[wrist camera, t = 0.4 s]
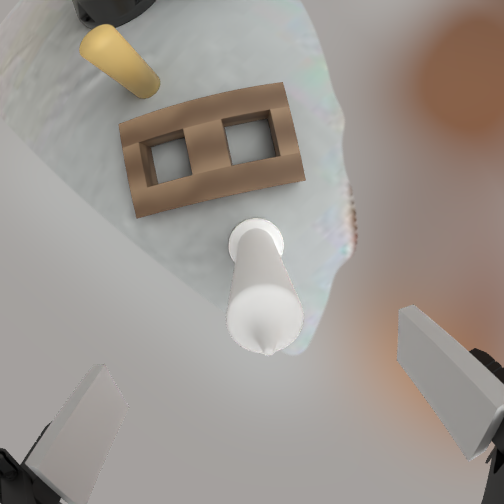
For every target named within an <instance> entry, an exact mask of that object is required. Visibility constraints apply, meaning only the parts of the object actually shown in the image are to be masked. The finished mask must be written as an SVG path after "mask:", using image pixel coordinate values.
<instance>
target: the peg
mask: <svg viewBox="0 0 504 504" xmlns="http://www.w3.org/2000/svg"><path fill="white" fill-rule="evenodd" d="M79 51H80V55H81V56H82V57H83V58H85V59H86V60H88V61H89V62H90V63H92V64H93V65H95V66H96V67H98V68H99V69H100V70H102V71H103V72H105V73H106V74H107V75H109V76H110V77H111V78H113V79H114V80H116V81H117V82H118V83H120V84H121V85H122V86H124V87H125V88H126V89H128V90H129V91H130V92H132V93H133V94H134V95H136V96H137V97H139V98H142V99H145V98H149V97H151V96H153V95H154V94H155V93H156V92H157V91H158V89H159V87H160V79H159V77H158V76H157V75H156V74H155V72H154V71H153V70H152V69H151V68H150V67H149V66H148V64H147V63H146V62H145V61H144V60H143V59H142V58H141V57H140V55H139V54H138V53H137V52H136V51H135V50H134V49H133V48H132V47H131V45H130V44H129V43H128V42H127V41H126V40H125V39H124V38H123V37H122V35H121V34H120V33H119V32H118V31H117V30H116V29H115V28H114V27H113V26H112V25H109V24H103V25H100V26H97V27H95V28H94V29H92V30H91V31H90V32H89V33H88V34H87V35H86V36H85V37H84V38H83V40H82V42H81V44H80V49H79Z"/></svg>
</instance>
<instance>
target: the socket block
mask: <svg viewBox="0 0 504 504" xmlns="http://www.w3.org/2000/svg"><path fill="white" fill-rule="evenodd" d="M263 119H268V122H269V127H270V131H271V135H272V140H273V144H274V149H275V153H276V157H273V158H267V159H262V160H257V161H252V162H247V163H242V164H238V165H232V160H231V156H230V151H229V146H228V142H227V137H226V132H225V128H224V127H227V126H232V125H237V124H242V123H247V122H252V121H257V120H263ZM119 130H120V137H121V143H122V149H123V155H124V161H125V166H126V171H127V177H128V182H129V186H130V191H131V196H132V200H133V205H134V209H135V214H136V218H141V217H144V216H148V215H152V214H155V213H159V212H163V211H167V210H171V209H175V208H179V207H183V206H187V205H191V204H195V203H199V202H203V201H208V200H212V199H216V198H221V197H225V196H230V195H234V194H239V193H243V192H248V191H253V190H258V189H263V188H268V187H273V186H278V185H283V184H289V183H294V182H300V181H305V180H306V179H305V174H304V170H303V165H302V160H301V155H300V151H299V146H298V142H297V137H296V133H295V129H294V124H293V120H292V116H291V112H290V108H289V104H288V100H287V96H286V92H285V88H284V85H283V82H280V83H273V84H266V85H260V86H254V87H249V88H243V89H238V90H233V91H228V92H224V93H219V94H215V95H211V96H206V97H202V98H198V99H195V100H191V101H187V102H184V103H180V104H177V105H173V106H170V107H167V108H163V109H160V110H157V111H154V112H151V113H148V114H145V115H142V116H139V117H136V118H134V119H131V120H128V121H126V122H123V123H120V124H119ZM183 137H185V140H186V145H187V150H188V155H189V160H190V165H191V170H192V174H193V175H191V176H187V177H183V178H179V179H176V180H172V181H168V182H165V183H161V184H158V181H157V176H156V171H155V166H154V161H153V156H152V151H151V147H153V146H156V145H159V144H162V143H166V142H169V141H172V140H176V139H179V138H183Z"/></svg>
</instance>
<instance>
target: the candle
mask: <svg viewBox="0 0 504 504" xmlns="http://www.w3.org/2000/svg"><path fill="white" fill-rule="evenodd" d="M228 248H229V253H230V256H231V258H232V260H233V261H234V263H235V267H234V272H233V278H232V284H231V289H230V295H229V301H228V307H227V312H226V325H227V328H228V331H229V333H230V335H231V337H232V338H233V340H234V341H235V342H236V343H237V344H239V345H240V346H241V347H243V348H244V349H247V350H249V351H252V352H256V353H264V354H265V355H266V356H271V355H273V354H274V352H276V351H279V350H282V349H284V348H285V347H287V346H289V345H290V344H291V343H292V342H293V341H294V340H295V339H296V338H297V337H298V335H299V334H300V332H301V330H302V327H303V322H304V311H303V307H302V304H301V302H300V300H299V298H298V295H297V293H296V291H295V288H294V286H293V284H292V282H291V279H290V277H289V275H288V272H287V270H286V268H285V266H284V263H283V261H282V259H281V256H282V254H283V250H284V241H283V237H282V234H281V232H280V231H279V229H278V228H277V227H276V226H275V225H274V224H273V223H271V222H270V221H268V220H265V219H262V218H251V219H247V220H245V221H243V222H241V223H239V224H238V225H237V226H236V227H235V228H234V230H233V231H232V233H231V235H230V238H229V244H228Z"/></svg>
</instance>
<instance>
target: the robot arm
mask: <svg viewBox="0 0 504 504" xmlns="http://www.w3.org/2000/svg"><path fill="white" fill-rule="evenodd" d="M154 2H155V0H73V3H74V7H75V10H76V13H77V16H78V18H79V19H80V21H81V22H82V23H83V24H85V25H86V26H87V27H88V28H90V29H94V28H95V27H97V26H100V25H103V24H109V25H112V26H113V27H117V26H119V25H122V24H124V23H126V22H128V21H130V20H132V19H134V18H135V17H137V16H138V15H140V14H141V13H143V12H144V11H145V10H146V9H147V8H149V7H150V6H151V5H152V4H153V3H154ZM397 361H398V362H399V364H400V365H401V366H402V368H403V369H404V370H405V372H406V373H407V374H408V376H409V377H410V378H411V380H412V381H413V382H414V384H415V385H416V386H417V388H418V389H419V391H420V392H421V393H422V395H423V396H424V398H425V399H426V400H427V402H428V403H429V404H430V406H431V407H432V409H433V410H434V412H435V413H436V414H437V416H438V417H439V419H440V420H441V422H442V423H443V424H444V426H445V427H446V429H447V430H448V432H449V433H450V435H451V436H452V437H453V439H454V440H455V442H456V443H457V445H458V446H459V448H460V449H461V451H462V453H463V454H464V456H465V457H466V459H467V460H468V462H469V461H471V460H472V459H474V458H475V457H477V456H478V455H480V454H481V453H483V452H484V451H486V449H487V447H488V446H489V444H490V442H491V441H492V442H493V443H494V444H495V447H494V449H493V450H492V452H491V453H490V455H489V456H488V458H487V460H486V463H488V462H489V461H490V459H491V458H492V460H491V466H490V471H489V475H488V480H487V484H486V488H485V492H484V496H483V500H482V503H481V504H504V368H502V367H501V365H500V364H499V363H498V362H495V360H494V359H493V358H492V357H491V356H490V355H489V354H487V353H486V352H484V351H481V350H479V349H476V348H474V349H473V350H471V351H467V350H466V349H465V348H464V347H463V346H462V345H460V344H459V343H458V342H457V341H456V340H455V339H454V338H453V337H452V336H450V335H449V334H448V333H447V332H446V331H445V330H443V329H442V328H441V327H440V326H439V325H438V324H436V323H435V322H434V321H433V320H432V319H430V318H429V317H428V316H427V315H426V314H425V313H423V312H422V311H421V310H419V309H418V308H417V307H416V306H414V305H410V306H408V307H405V308H401V309H399V326H398V351H397ZM128 409H129V406H128V404H127V402H126V401H125V399H124V397H123V396H122V394H121V392H120V390H119V389H118V387H117V385H116V383H115V382H114V380H113V378H112V376H111V374H110V372H109V370H108V368H107V367H106V365H105V364H99V365H93V366H92V367H91V368H90V370H89V371H88V373H87V374H86V375H85V376H84V378H83V379H82V380H81V382H80V383H79V385H78V386H77V387H76V389H75V390H74V391H73V393H72V394H71V396H70V397H69V398H68V400H67V401H66V402H65V404H64V405H63V407H62V408H61V409H60V411H59V412H58V414H57V415H56V417H55V418H54V420H53V421H52V422H51V423H49V424H48V425H47V426H46V427H45V428H44V430H43V431H42V433H41V436H39V437H38V439H37V442H35V443H34V445H33V446H32V448H31V450H30V451H29V453H28V454H27V456H26V457H25V459H24V460H23V462H22V463H21V465H19V464H18V463H17V462H16V460H15V459H14V458H13V457H12V456H11V455H10V454H9V453H8V452H7V451H6V449H3V448H0V503H1V504H62V503H60V502H59V501H60V499H61V498H62V499H63V500H65V501H66V502H67V503H68V504H87V502H88V500H89V497H90V495H91V493H92V490H93V488H94V485H95V483H96V481H97V478H98V475H99V473H100V471H101V469H102V466H103V464H104V462H105V460H106V457H107V455H108V453H109V450H110V448H111V446H112V444H113V441H114V439H115V437H116V435H117V433H118V430H119V428H120V426H121V424H122V422H123V420H124V417H125V415H126V413H127V411H128Z"/></svg>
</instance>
